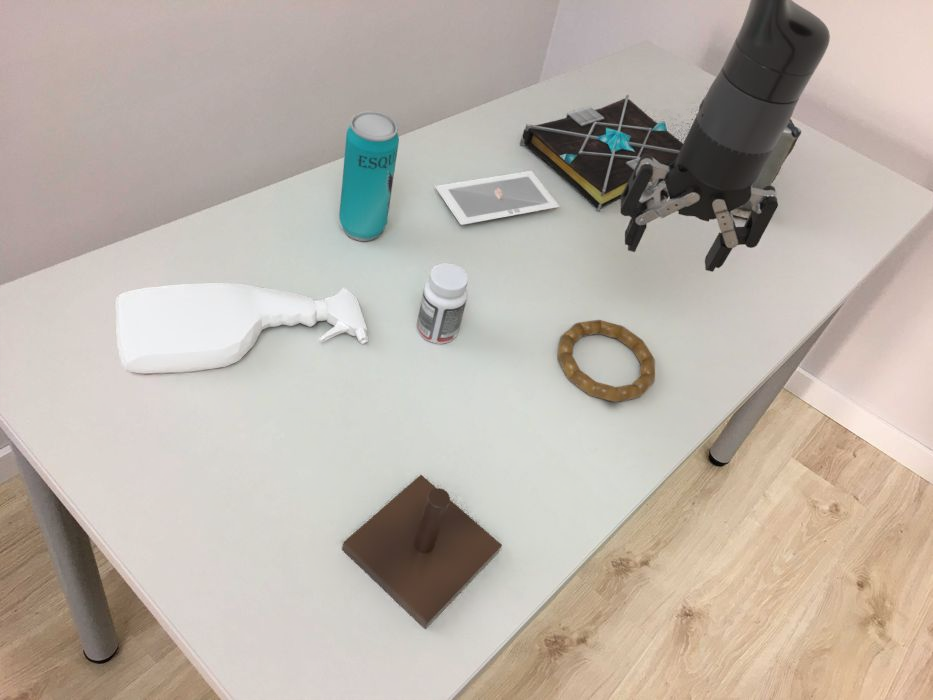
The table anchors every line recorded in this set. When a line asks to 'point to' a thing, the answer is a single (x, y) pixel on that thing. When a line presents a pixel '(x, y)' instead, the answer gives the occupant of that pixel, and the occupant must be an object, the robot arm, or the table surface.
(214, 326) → the spray bottle
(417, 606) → the peg post
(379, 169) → the beverage can
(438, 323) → the pill bottle
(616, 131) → the book
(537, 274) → the table surface
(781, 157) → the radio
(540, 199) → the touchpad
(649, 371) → the ring
